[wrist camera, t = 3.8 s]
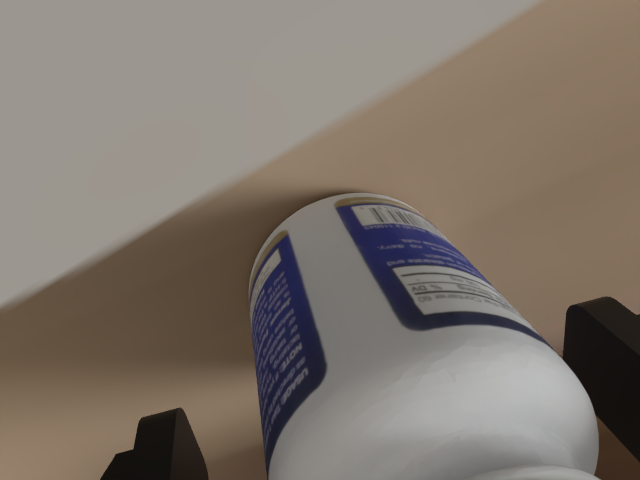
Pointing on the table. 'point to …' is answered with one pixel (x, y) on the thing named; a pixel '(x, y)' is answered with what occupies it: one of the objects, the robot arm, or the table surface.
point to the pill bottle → (402, 358)
